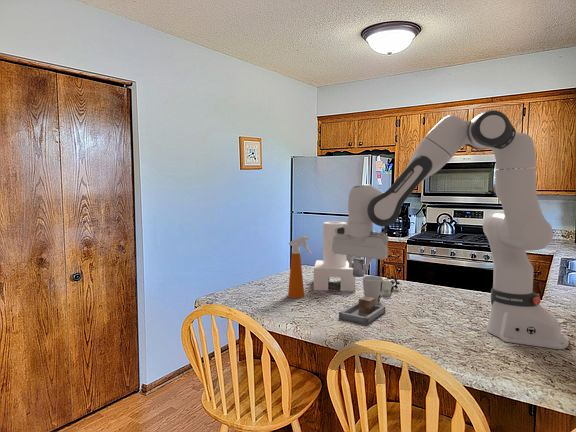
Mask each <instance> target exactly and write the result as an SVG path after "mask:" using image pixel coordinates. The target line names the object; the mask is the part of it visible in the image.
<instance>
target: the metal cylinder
mask: <svg viewBox="0 0 576 432" xmlns="http://www.w3.org/2000/svg"><path fill="white" fill-rule="evenodd" d="M352 261H353V276H354V277H355V278H363V277H365V270H363V265H364V264H366V263H365V262H366V258H363V257H354V258H353V259H352Z"/></svg>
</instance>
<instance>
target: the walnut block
mask: <svg viewBox="0 0 576 432" xmlns="http://www.w3.org/2000/svg"><path fill="white" fill-rule="evenodd" d="M358 302H359V312H361V313H366V314H371V313H372V312H374V311H375V305H376V304H375V298H371V297H366V296H365V295H364V296H361V297H360V298H358Z"/></svg>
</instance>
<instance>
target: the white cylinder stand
mask: <svg viewBox="0 0 576 432" xmlns="http://www.w3.org/2000/svg"><path fill="white" fill-rule="evenodd" d="M322 224H323V226H322V229H323V231H322V233H323V235H322V236H323V243H322V244H323V246H322V247H323V248H322V249H323V257H322V258H323V260H320V259H317V260H315V262H314V263H315V264H314V266H313V291H329V281H330V279H331V278H340V291H341V292H342V291H343V292H356V277H354V276H353V268H349V263H348V261H347V259H346V255H343V254H335V253H333V251H332V242H333V237H334V236H335V235H336V234H335V232H334V230H335V228H338V227H342V226H344V225H348V222H346V221H345V222H344V221H324V222H323V223H322ZM352 262H353V260H352Z"/></svg>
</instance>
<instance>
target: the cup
mask: <svg viewBox="0 0 576 432" xmlns="http://www.w3.org/2000/svg"><path fill="white" fill-rule="evenodd" d="M383 279H384V277H382V276H378V275H377V276H376V275H367V276H364V277H362V284H363V285H362V287H363V294H364V296H366V297H371V298H375V305H377V304H379V303H380V301H381V298H382V296H383V295H382V289H383Z"/></svg>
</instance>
